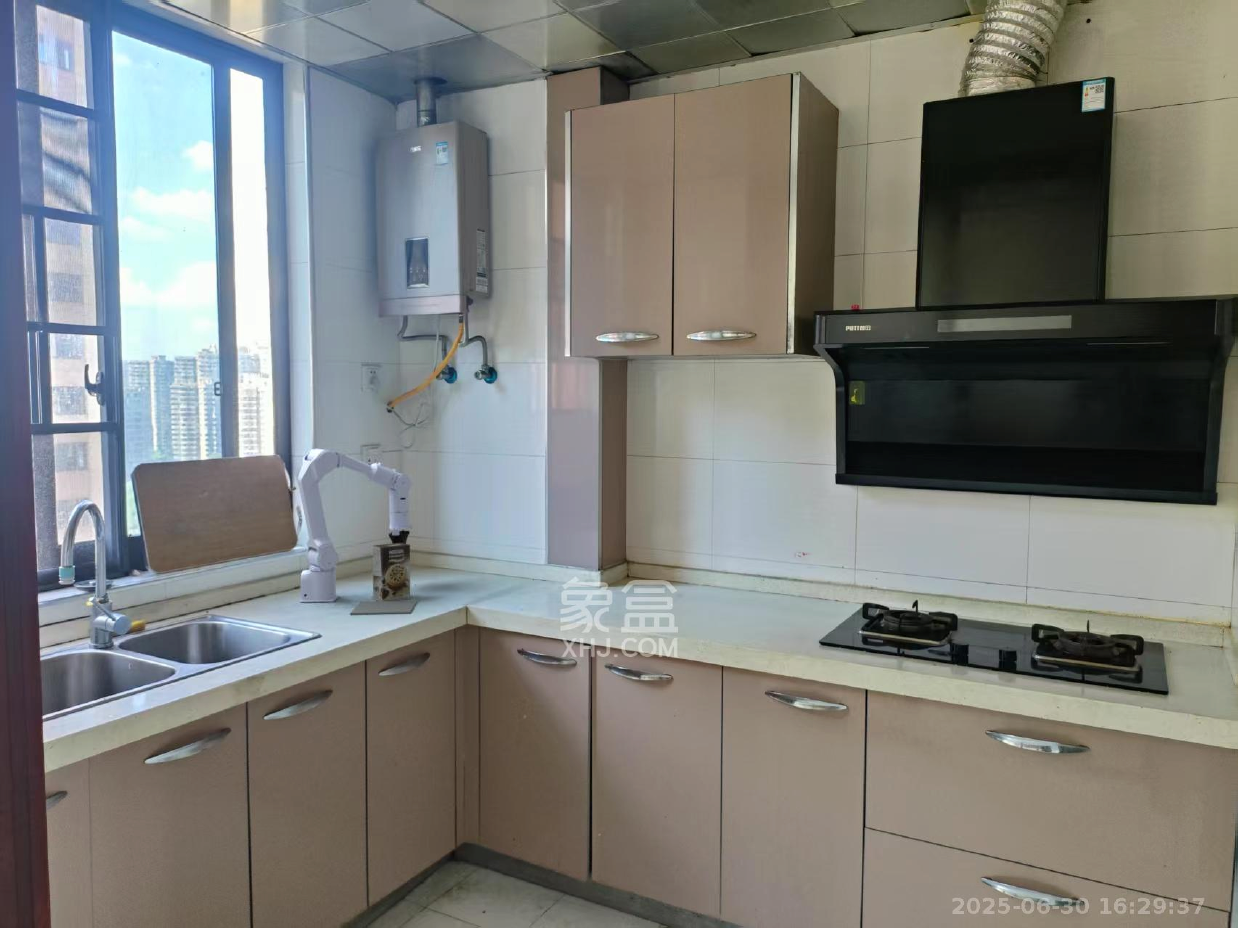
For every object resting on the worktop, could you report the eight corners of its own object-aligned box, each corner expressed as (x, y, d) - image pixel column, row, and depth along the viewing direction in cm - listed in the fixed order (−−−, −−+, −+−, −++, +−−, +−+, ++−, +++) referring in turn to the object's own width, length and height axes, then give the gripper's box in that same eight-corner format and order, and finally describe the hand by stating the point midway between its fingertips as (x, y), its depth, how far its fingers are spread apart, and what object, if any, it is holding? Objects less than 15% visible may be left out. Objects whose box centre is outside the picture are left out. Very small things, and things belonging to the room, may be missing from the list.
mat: (350, 614, 232) (350, 613, 232) (360, 603, 246) (360, 601, 246) (410, 613, 233) (410, 611, 233) (417, 602, 247) (417, 600, 247)
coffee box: (382, 603, 246) (381, 547, 245) (372, 599, 251) (371, 544, 250) (411, 598, 252) (410, 544, 251) (401, 594, 257) (400, 541, 256)
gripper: (408, 514, 258) (409, 558, 259) (415, 508, 272) (416, 551, 273) (384, 514, 257) (385, 559, 258) (392, 509, 272) (393, 551, 272)
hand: (399, 555), depth 266 cm, fingers closed
